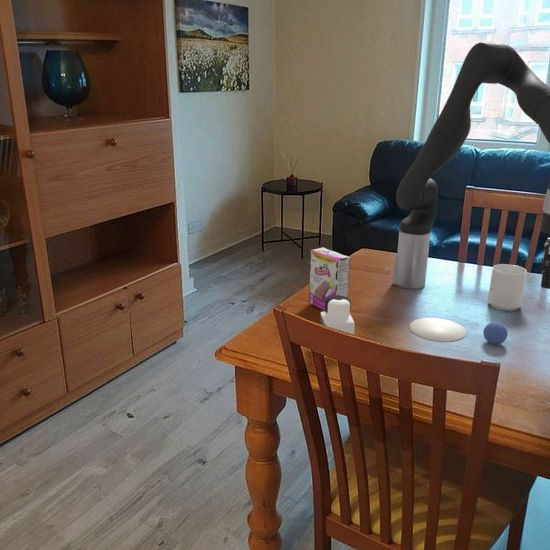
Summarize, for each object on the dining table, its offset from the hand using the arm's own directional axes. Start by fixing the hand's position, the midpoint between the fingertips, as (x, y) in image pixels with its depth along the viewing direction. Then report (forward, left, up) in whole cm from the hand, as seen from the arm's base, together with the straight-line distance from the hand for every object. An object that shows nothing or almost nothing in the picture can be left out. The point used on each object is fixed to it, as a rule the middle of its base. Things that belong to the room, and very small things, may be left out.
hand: (548, 282), depth 126 cm
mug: (-14, +28, -18) cm, 36 cm away
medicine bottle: (-42, -22, -18) cm, 50 cm away
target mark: (-24, 0, -18) cm, 30 cm away
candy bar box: (-54, -4, -18) cm, 57 cm away
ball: (-10, 0, -15) cm, 18 cm away
